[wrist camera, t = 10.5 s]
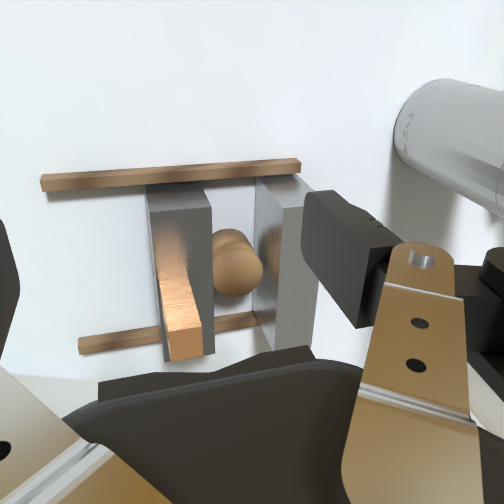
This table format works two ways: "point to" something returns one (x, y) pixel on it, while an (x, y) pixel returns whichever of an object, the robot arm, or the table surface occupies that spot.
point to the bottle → (485, 404)
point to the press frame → (154, 177)
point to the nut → (234, 263)
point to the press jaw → (182, 268)
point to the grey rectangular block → (283, 263)
